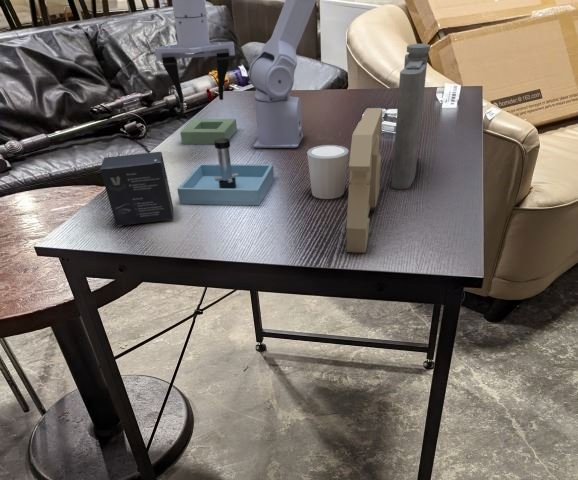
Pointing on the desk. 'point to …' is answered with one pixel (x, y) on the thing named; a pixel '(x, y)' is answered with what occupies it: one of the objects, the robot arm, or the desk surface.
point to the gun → (363, 178)
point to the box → (137, 188)
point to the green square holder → (208, 130)
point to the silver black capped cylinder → (225, 164)
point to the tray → (207, 190)
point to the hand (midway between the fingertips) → (201, 100)
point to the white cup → (327, 170)
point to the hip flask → (409, 115)
